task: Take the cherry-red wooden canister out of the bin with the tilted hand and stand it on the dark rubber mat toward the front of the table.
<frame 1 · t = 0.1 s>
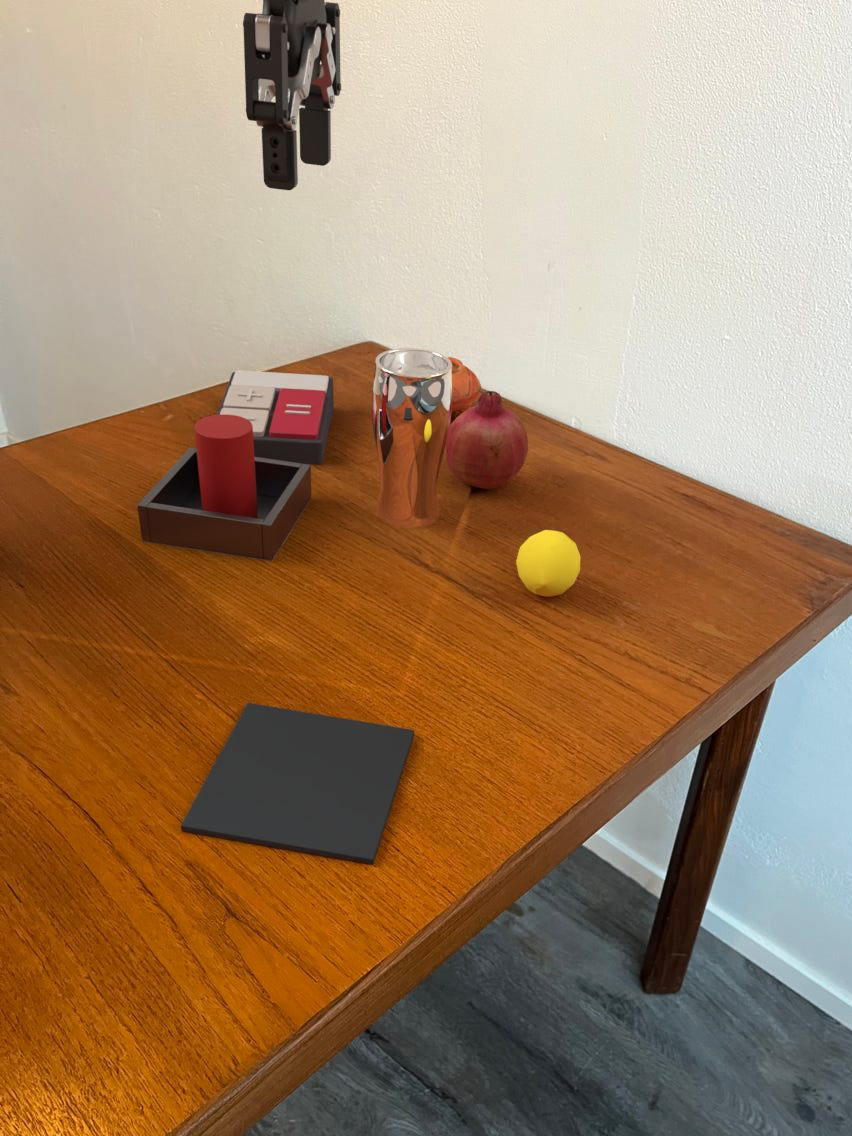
hand: (299, 175, 73), 30 cm above the table, tool pointing down, fingers open, 8 cm apart
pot: (443, 415, 114), on the table
fruit: (482, 488, 101), on the table
lemon: (544, 591, 87), on the table
mat: (305, 780, 66), on the table
calculator: (276, 435, 107), on the table
beer glass: (407, 517, 95), on the table
bin: (231, 523, 91), on the table
canister: (230, 518, 91), resting on bin
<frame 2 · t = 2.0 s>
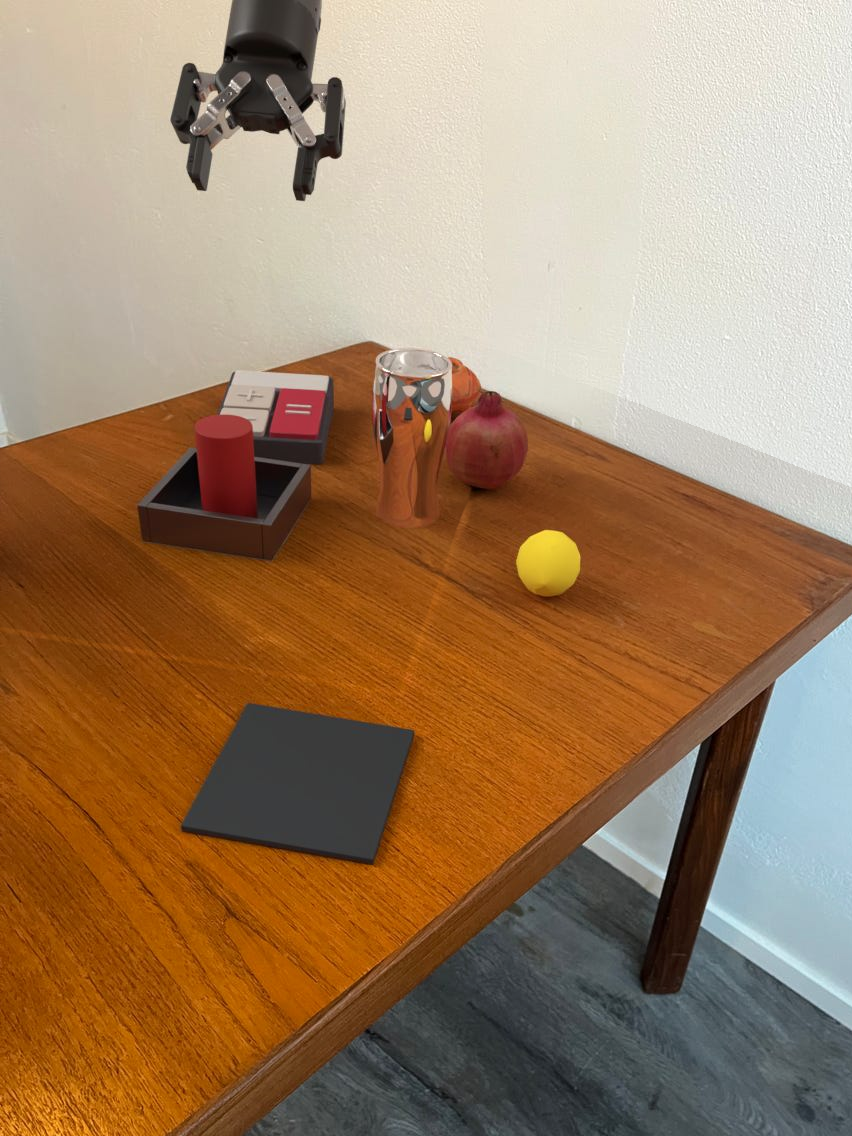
hand: (248, 190, 85), 26 cm above the table, tool tilted 45°, fingers open, 8 cm apart
nothing on the table moved.
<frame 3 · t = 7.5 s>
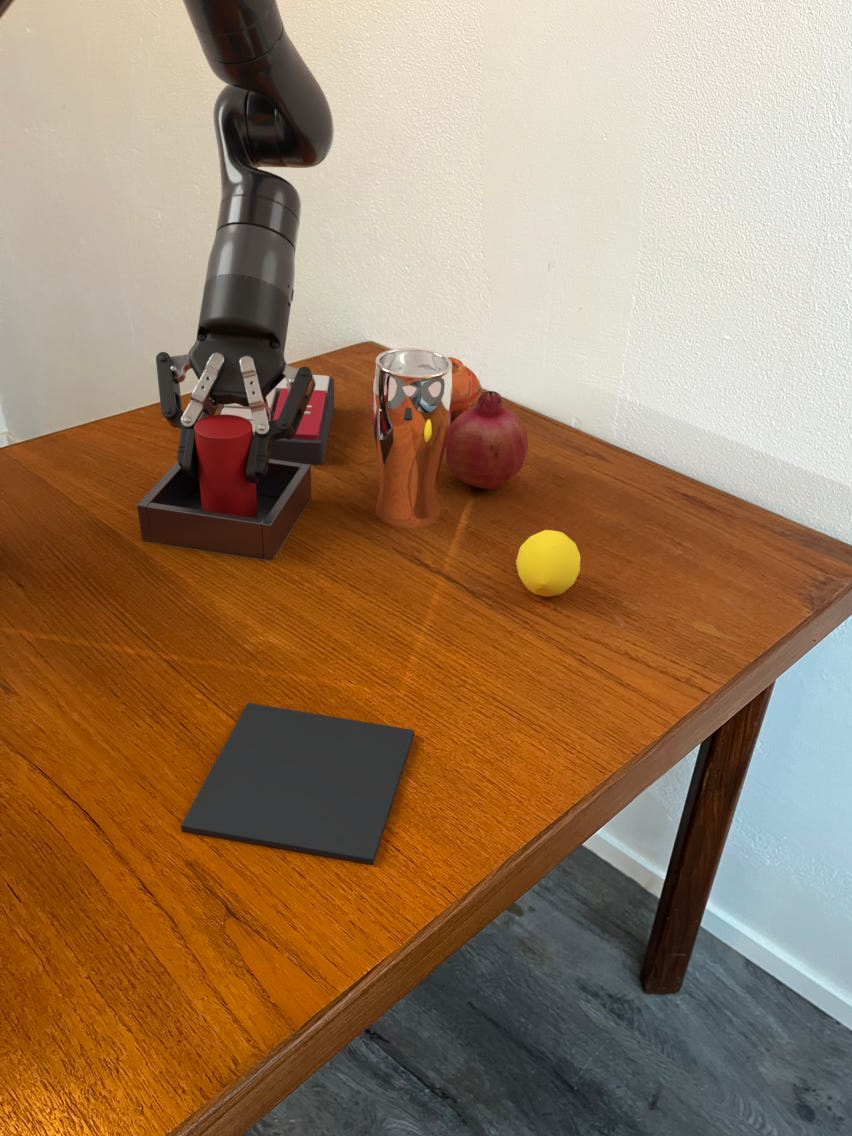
hand: (221, 476, 86), 6 cm above the table, tool tilted 45°, fingers closed on canister, 5 cm apart
canister: (230, 518, 91), point 1 cm above the table, touching bin, gripper
everything else where it was.
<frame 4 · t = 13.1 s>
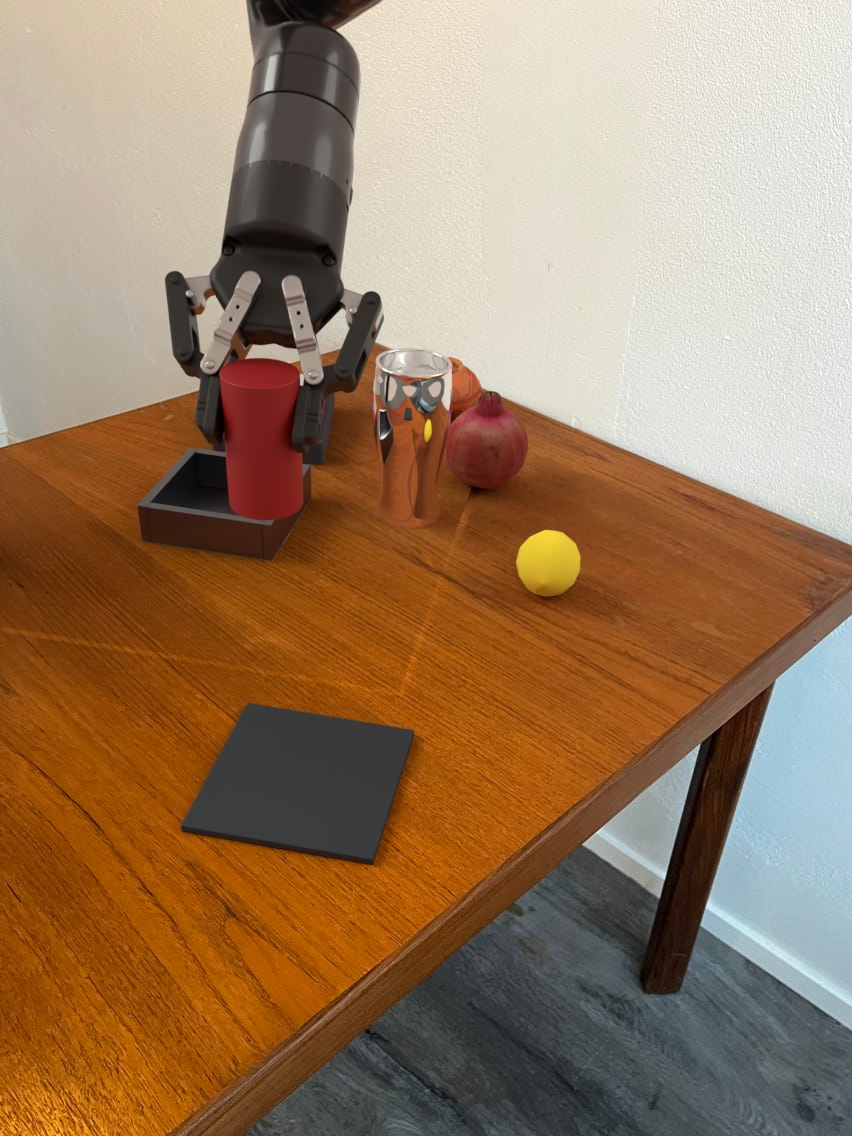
hand: (256, 443, 62), 19 cm above the table, tool tilted 45°, fingers closed on canister, 5 cm apart
canister: (266, 502, 67), point 14 cm above the table, touching gripper
everything else where it was.
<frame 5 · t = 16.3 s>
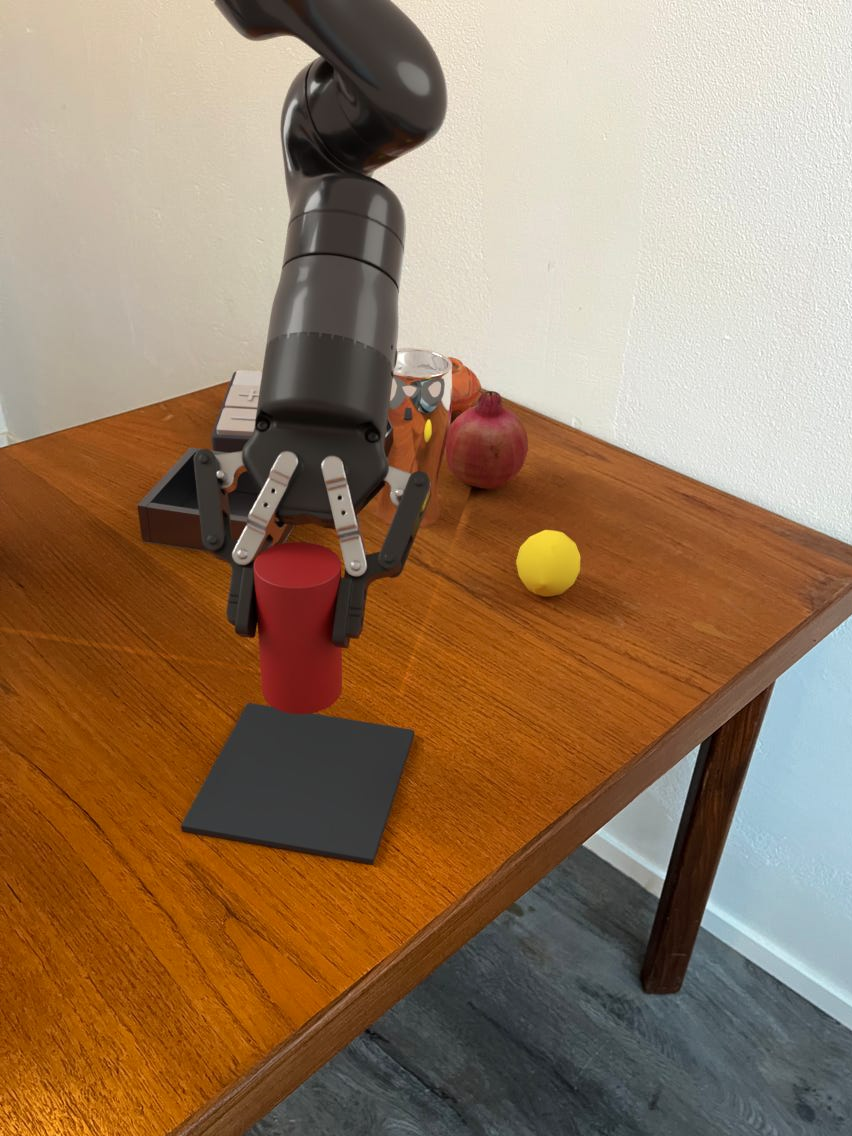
hand: (293, 639, 57), 13 cm above the table, tool tilted 45°, fingers closed on canister, 5 cm apart
canister: (302, 689, 61), point 8 cm above the table, touching gripper
everything else where it was.
when the fingers open (6 cm above the table, at t = 18.7 s): canister stays where it is, resting on mat.
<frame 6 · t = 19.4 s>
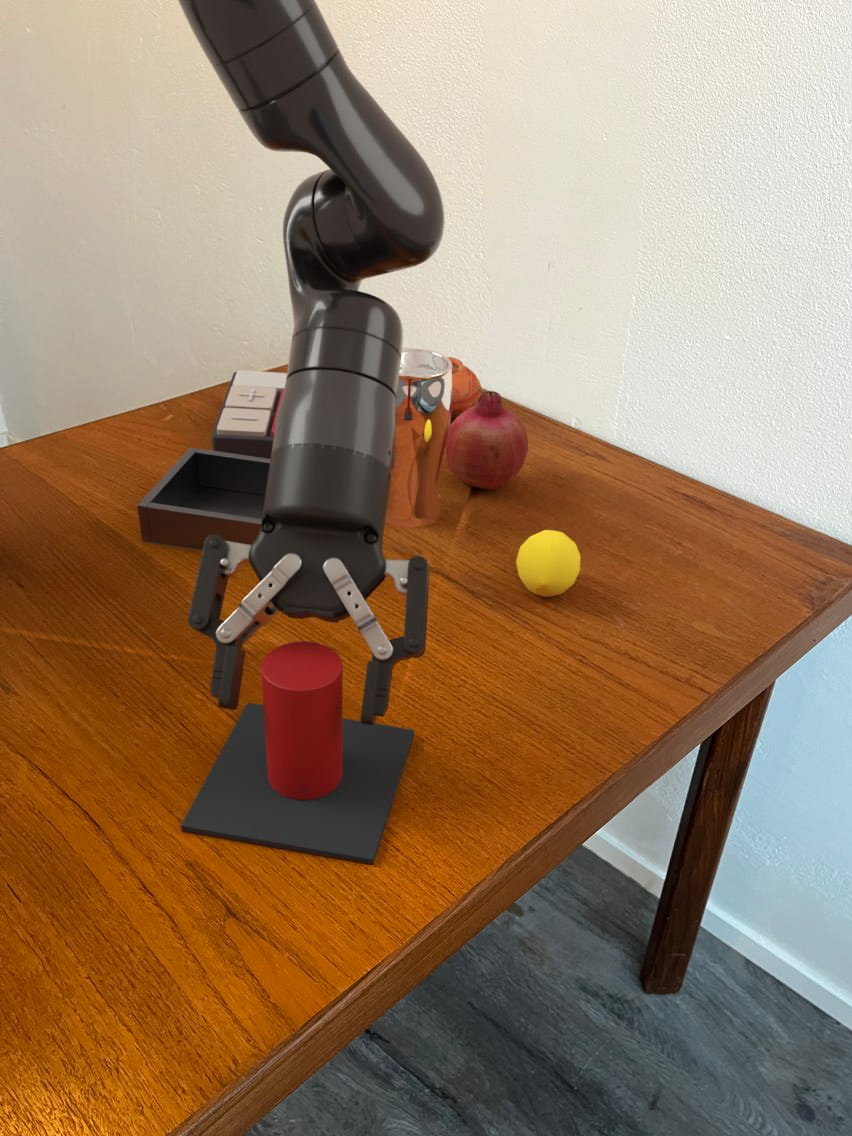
hand: (297, 716, 61), 7 cm above the table, tool tilted 45°, fingers open, 8 cm apart
canister: (305, 774, 66), resting on mat
everything else where it was.
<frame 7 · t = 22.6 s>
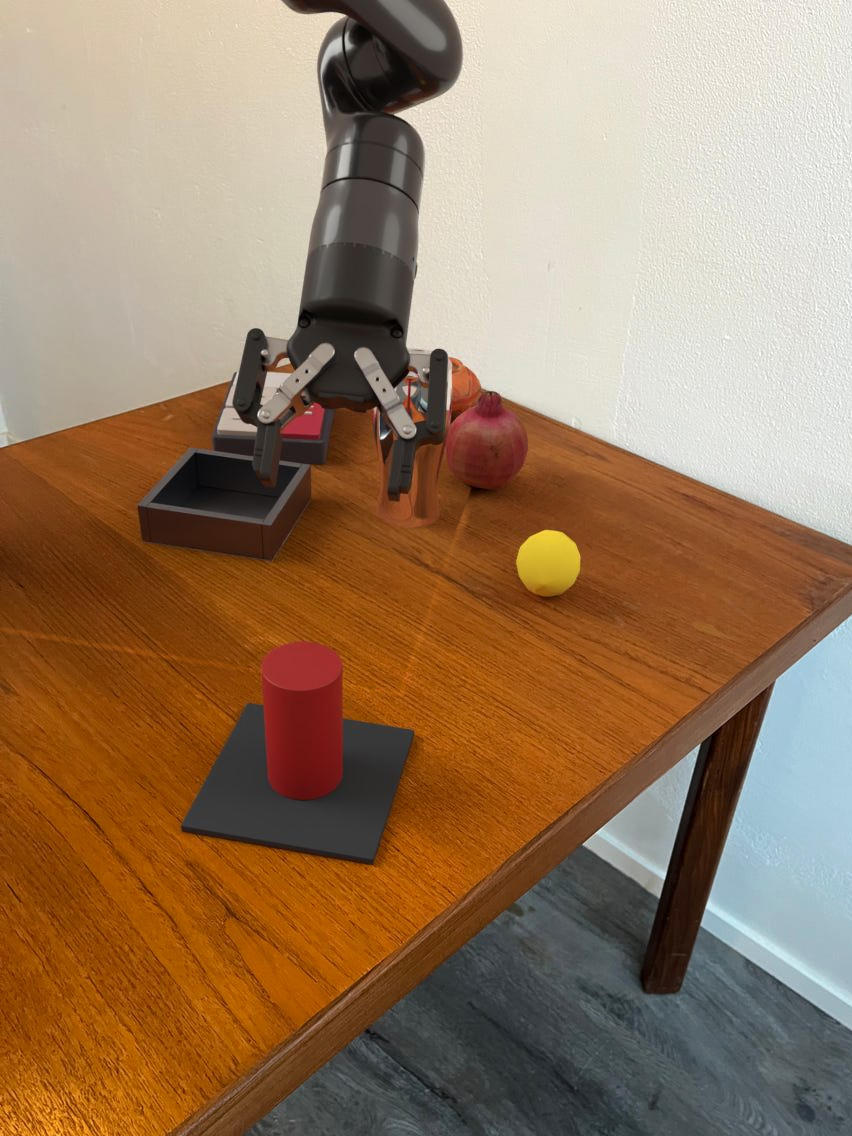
hand: (330, 491, 68), 14 cm above the table, tool tilted 45°, fingers open, 8 cm apart
nothing on the table moved.
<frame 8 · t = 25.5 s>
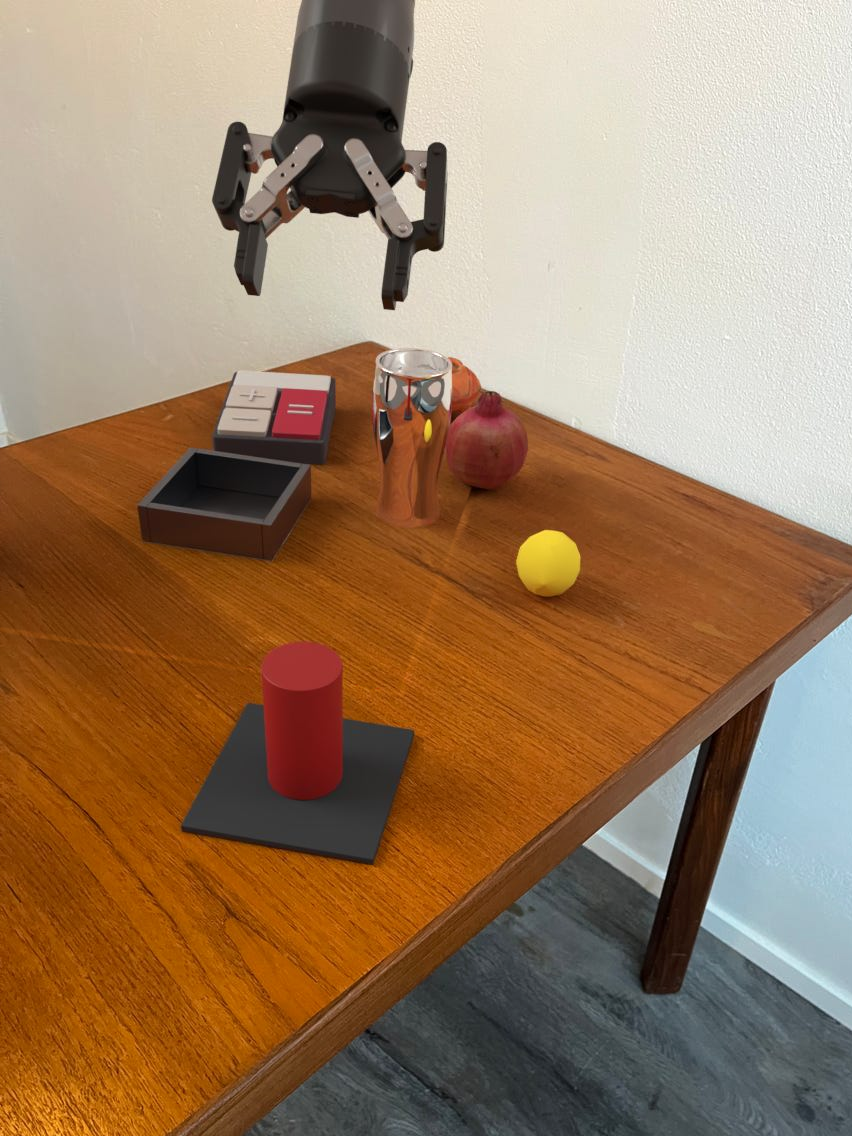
hand: (319, 297, 62), 27 cm above the table, tool tilted 45°, fingers open, 8 cm apart
nothing on the table moved.
at the end: canister inside the target area on the mat (0.0 cm from its centre), point 0.5 cm above the mat's base; canister tilted 0°; the gripper is holding nothing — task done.
